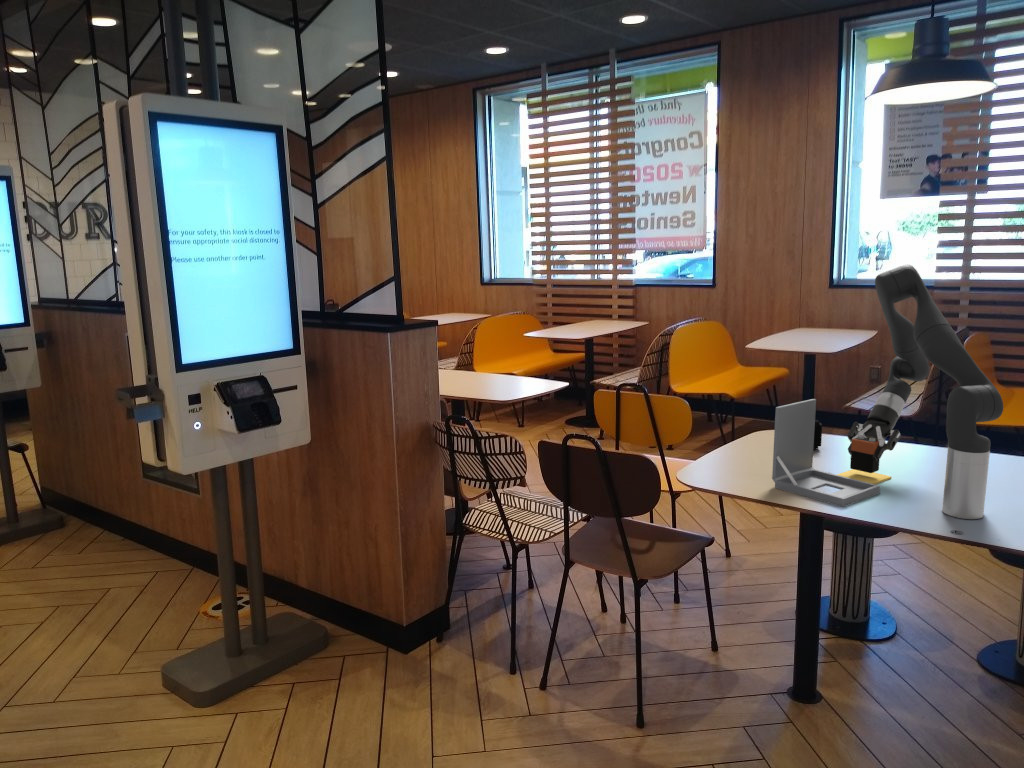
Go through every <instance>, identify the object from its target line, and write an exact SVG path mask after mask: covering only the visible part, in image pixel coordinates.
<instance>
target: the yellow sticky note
mask: <svg viewBox="0 0 1024 768" xmlns="http://www.w3.org/2000/svg"><path fill="white" fill-rule="evenodd" d="M836 475H839V476H843V477H847V478H851V479H855V480H859V481H863V482H867V483H871V484H875V485H879V484H880V483H883V482H885V481H888V480H891V479H892V476H890V475H886V474H882V473H878V472H873V473H868V472H863V471H859V470H855V469H850V470H847V471H844V472H841V473H838V474H836Z"/></svg>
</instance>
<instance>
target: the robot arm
mask: <svg viewBox="0 0 1024 768" xmlns="http://www.w3.org/2000/svg"><path fill="white" fill-rule="evenodd" d="M874 285H875V290H876V294H877V297H878V300H879V303H880V305H881V309H882V312H883V313H882V314H883V315H884V318H885V320H886V324H887V327H888V330H889V333H890V338H891V344H892V350H893V353H894V355H895V357H894V358H893V359H892V360H891V362H890V366H889V374H888V378H887V382H886V385H885V387H884V388H883V390H882V392H881V394H880V395H879V397H878V398H876V399H877V400H876V401H875V403H874V405H873V407H872V409H871V410H870V412H869V415H868V416H867V419H866V421H865V422H864V423H863V424H862V423H859V422H858V421H854V422H853V423H852V426H851V427H850V430H849V432H848V434H847V439H848V441H850V444H849V446H848V448H847V451H848V454H849V455H850V456H851V447H852V439H854V438H857V435H864V436H865V438H875V440H878V441H879V446H878V447H877V449H876V451H875V453H874V454H873V459H874V460H876V461H877V460H878V459H879V460H880V459H881V457H882V456H883V454H884V452H886V451H887V450H889V451H893V450H894V448H895V447H896V445H897V444H898V441H899V440H900V438H901V437H902V434H901V433H900V431H899V429H894V427H895V426H896V423H897V422H898V420H899V418H900V417H901V415H902V412H903V411H904V407H905V405H906V403H907V401H908V399H909V397H910V396H911V393H912V387H911V385H910V384H909V383H908V382H906V380H907V381H912V382H913V381H914V382H922V381H924V380H926V379H927V377H928V376H929V373H930V364H929V363H931V364H932V365H933V366H935V367H936V368H938V369H939V370H940V371H942V372H943V373H945V374H946V375H948V376H949V377H951V378H952V379H953V380H954V381H955V382H957V384H958V385H959V386H956V387H954V388H953V389H951V391H950V393H949V395H948V398H947V403H946V423H945V425H946V426H945V427H946V428H945V432H946V437H947V454H946V464H945V473H944V474H945V477H944V485H943V487H944V488H943V498H942V509H941V511H942V513H944V514H945V515H948V516H950V517H954V518H957V519H963V520H978V519H982V518H984V513H985V502H986V493H987V487H988V485H987V484H988V474H989V464H990V455H991V443H992V442H991V439H989V437H987V436H984V435H982V434H979V433H978V432H977V423H984V422H993V421H995V420H998V419H999V418H1000V417H1001V416H1002V414H1003V412H1004V401H1003V398H1002V396H1001V393H1000V391H999V390H998V389H997V388H996V386H995V385H994V383H993V382H992V381H991V380H990V379H989V378H988V377H987V376H986V374H985V373H984V372H983V371H982V370H981V368H980V367H979V366H978V365H977V363H976V362H975V361H974V359H973V358H972V356H971V355H970V354H969V352H968V351H967V349H966V348H965V346H964V345H963V344H962V342H961V340H960V338H959V336H958V335H957V333H956V332H955V330H954V329H953V328H952V326H951V324H950V323H949V322H948V320H947V319H946V317H945V316H944V315H943V313H942V312H941V310H940V308H939V307H938V305H937V304H936V302H935V300H933V297H932V295H931V293H930V292H929V290H928V288H927V286H926V284H925V282H924V281H923V279H922V277H921V275H920V273H919V272H918V270H917V269H916V268H915V266H913V265H911V264H903V265H900V266H898V267H895V268H892V269H890V270H887V271H884V272H882V273H880V274H877V276H875V279H874ZM910 298H913V299H914V300H915V301H916V304H917V307H916V316H915V321H914V323H913V322H912V321H911V320H909V319H908V318H907V317H905V316H904V315H903V314H901V313H900V312H899V311H898V309H896V307H895V304H896V303H899V302H902V301H904V300H907V299H910ZM888 436H889V438H888V440H887V442H886V438H887V437H888Z"/></svg>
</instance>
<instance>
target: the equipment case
mask: <svg viewBox="0 0 1024 768" xmlns="http://www.w3.org/2000/svg"><path fill="white" fill-rule="evenodd" d="M816 409H817V398H811V399H807V400H802V401H801V400H800V401H797V402H793V403H789V404H785V405H780V406H776V407H775V417H774V434H773V436H774V437H773V455H772V474H771V479H772V481H773V483H774V488H775V489H779V490H781V491H785V492H790V493H792V494H796V495H800V496H803V497H806V498H811V499H813V500H817V501H821V502H824V503H826V504H827V503H828V504H831V505H835V506H837V507H841V508H844V507H847V506H850V505H852V504H855V503H857V502H861V501H863V500H866V499H869V498H871V497H873V496H876V495H879V494H881V493H880V492H881V485H879V484H871V483H867V482H863V481H859V480H855V479H851V478H847V477H843V476H839V475H837V474H835V473H830V472H827V471H823V470H819V469H814V467H813V463H814V462H813V460H814V459H813V458H814V448H813V446H814V429H815V420H816ZM824 486H829V487H831V488H832V487H833V488H837V489H838V490H836V491H834V492H831V493H828V492H825V491H821V490H817V489H818V488H819V487H820V488H821V487H824ZM840 488H841V489H840Z"/></svg>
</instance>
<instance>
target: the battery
mask: <svg viewBox="0 0 1024 768" xmlns="http://www.w3.org/2000/svg"><path fill="white" fill-rule="evenodd" d="M878 446H879V441H878V440H875V438H865V435H858V434H857V438H854V439H852V447H851V455H850V467H849V468H850V470H852V469H855V470H859V471H863V472H868V473H873V472H874V473H877V472H878V471H879V470H880V459H878V460H877V461H876V460H874V459H873V454H874V453H875V451H876V449H877V447H878Z"/></svg>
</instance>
